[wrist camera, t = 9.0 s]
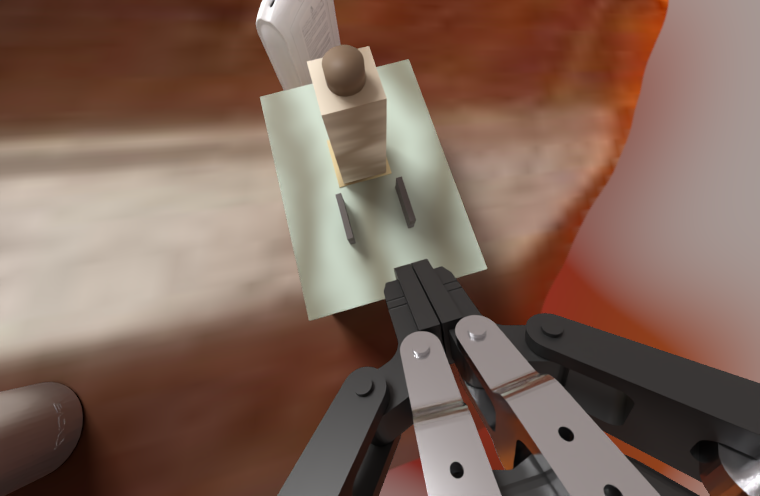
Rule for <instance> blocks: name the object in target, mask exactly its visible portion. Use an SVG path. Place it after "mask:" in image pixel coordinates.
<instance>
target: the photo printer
mask: <svg viewBox="0 0 760 496" xmlns="http://www.w3.org/2000/svg"><path fill="white" fill-rule="evenodd" d="M256 28H257V31H258V34H259V36H260V38H261V41H262V43H263V45H264V47H265V50H266V52H267V54H268V56H269V59H270V61H271V63H272V65H273V67H274V70H275V72H276V74H277V76H278V79H279V81H280V83H281V85H282V87H283V89H284V91H285V90H289V89H293V88H297V87H301V86H305V85H309V84H313V83H312V79H311V76H310V72H309V68H308V65H307V61H311V60H315V59H319V58H323V56H324V55H325V53H326V52H327V51H328V50H330V49H331V48H333V47H335V46H339V45H341V44H340V38H339V32H338V26H337V20H336V14H335V8H334V2H333V0H262V3H261V5H260V8H259V12H258V15H257V20H256Z"/></svg>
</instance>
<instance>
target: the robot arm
mask: <svg viewBox="0 0 760 496" xmlns="http://www.w3.org/2000/svg"><path fill="white" fill-rule="evenodd" d="M394 272H395V277H396V280H394V281H390V282H387V283H386V284H385V288H384V296H385V299H386V303H387V306H388V310H389V313H390V317H391V320H392V323H393V327H394V330H395V333H396V337H397V340H398V349H397V352H396V354H395V355H394V357H393V358H392V359H391V360H390V361H389V362H388V363H386V364H385V365H383V366H382V367H380V368H379V369H376V368H373V367H362V368H359V369H357V370H355V371H353V372H352V373H351V374H350V375H349V376H348V377H347V379H346V380H345V382H344V383H343V385H342V387H341V389H340V390H339V392H338V394H337V395H336V397H335V399H334V400H333V402H332V404H331V406H330V407H329V409H328V411H327V412H326V414H325V416H324V417H323V419H322V421H321V422H320V424H319V426H318V428H317V429H316V431H315V433H314V434H313V436H312V438H311V439H310V441H309V443H308V445H307V446H306V448H305V450H304V451H303V453H302V455H301V456H300V458H299V460H298V462H297V463H296V465H295V467H294V468H293V470H292V472H291V473H290V475H289V477H288V478H287V480H286V482H285V484H284V485H283V487H282V489H281V490H280V492H279V494H278V495H277V496H379V494H380V491H381V488H382V486H383V483H384V480H385V478H386V475H387V472H388V470H389V467H390V464H391V462H392V459H393V456H394V454H395V451H396V448H397V446H398V443H399V440H400V438H401V434H402V433H403V432H404V431H405V430H406V429H408V428H409V427H410V426H411V425H413V424H414V428H415V433H416V438H417V443H418V448H419V453H420V457H421V462H422V467H423V472H424V477H425V482H426V487H427V492H428V496H699V495H697V494H696V493H694V492H692V491H690V490H688V489H687V488H685V487H683V486H682V485H680V484H678V483H676V482H675V481H673V480H671V479H669V478H667V477H666V476H664V475H662V474H660V473H659V472H657V471H655V470H654V469H652V468H650V467H648V466H646V465H644V464H643V463H641V462H639V461H637V460H636V459H633V458H631V457H629V456H627V455H624V454H623V453H622V452H621V451H620V450H619V449H618V448H617V447H616V446H615V444H614V443H613V442H612V441H611V440H610V439H609V438H608V436H606V434H605V433H604V432H603V431H605V432H606V433H608V434H610V435H612V436H614V437H616V438H618V439H620V440H622V441H624V442H625V443H627V444H630V445H631V446H633V447H635V448H637V449H639V450H641V451H643V452H645V453H647V454H648V455H651V456H652V457H654V458H656V459H658V460H660V461H662V462H664V463H666V464H668V465H670V466H671V467H673V468H675V469H677V470H679V471H681V472H683V473H685V474H687V475H689V476H691V477H693V478H695V479H696V480H698V481H700V482H702V483H703V484H704V486H705V488H706V490H707V491H708V493H709V494H710V496H760V383H757V382H754V381H751V380H748V379H745V378H742V377H739V376H736V375H733V374H730V373H727V372H724V371H721V370H718V369H715V368H712V367H709V366H706V365H703V364H700V363H697V362H694V361H691V360H689V359H686V358H683V357H680V356H677V355H673V354H671V353H668V352H665V351H661V350H659V349H656V348H653V347H650V346H647V345H644V344H641V343H638V342H635V341H632V340H629V339H626V338H623V337H620V336H617V335H614V334H611V333H608V332H605V331H602V330H599V329H596V328H593V327H590V326H587V325H584V324H581V323H578V322H575V321H572V320H569V319H566V318H563V317H560V316H557V315H554V314H547V313H543V314H537V315H534V316H532V317H531V318H530V319H529V320H528V321H527V324H526V325H499V324H495V323H494V322H493V321H492V320H490V319H488V318H486V317H484V316H482V315H481V314H480V312H479V311H478V309H477V308H476V307H475V305H474V304H473V302H472V301H471V299H470V298H469V297H468V295H467V294H466V292H465V291H464V289H463V288H462V286H461V285H460V284H459V282H457V279H456V278H455V276H454V275H453V274H452V272H451V271H449V270H447V269H446V268H444V267H442V266H441V267H437V268H434V269H433V267H432V266H431V264H430V262H429V261H428V259H423V260H420V261H416V262H413V263H411V265H410V264H407V265H403V266H400V267H396V268H394ZM452 363H455V365H456V367H457V369H458V371H459V375H460V381H461V384H462V386H463V387H464V389H465V391H466V393H467V395H468V396H469V398H470V400H471V402H472V403H473V405H474V407H475V409H476V411H477V412H478V414H479V416H480V418H481V420H482V421H483V423H484V425H485V427H486V428H487V430H488V432H489V434H490V436H491V438H492V440H493V443H494V446H495V449H496V452H497V454H498V457H499V459H500V461H501V463H502V465H503V467H504V469H505V470H492V469H491V466H490V464H489V461H488V458H487V456H486V453H485V451H484V448H483V445H482V442H481V440H480V437H479V434H478V432H477V429H476V427H475V424H474V421H473V419H472V416H471V414H470V411H469V409H468V407H467V405H466V404H465V403H464V402H463V400H462V398H461V395H460V393H459V390H458V387H457V384H456V382H455V379H454V376H453V374H452V371H451V368H450V365H449V364H452ZM82 424H83V413H82V407H81V404H80V401H79V399H78V397H77V396H76V395H75V393H74V392H73V391H72V390H71V389H70V388H68V387H67V386H65V385H62V384H60V383H54V382H46V383H39V384H35V385H30V386H25V387H21V388H16V389H11V390H7V391H2V392H0V496H5V495H7V494H9V493H11V492H13V491H15V490H17V489H19V488H22V487H24V486H26V485H28V484H30V483H32V482H34V481H36V480H38V479H40V478H42V477H44V476H46V475H48V474H49V473H51V472H53V471H54V470H56V469H57V468H58V467H59V466H61V465H62V464H63V463H64V462H65V461H66V459H67V458H68V457H69V456H70V454H71V453H72V451H73V450H74V448H75V447H76V444H77V442H78V440H79V437H80V434H81V430H82Z"/></svg>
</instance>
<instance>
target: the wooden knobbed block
mask: <svg viewBox="0 0 760 496" xmlns="http://www.w3.org/2000/svg"><path fill="white" fill-rule="evenodd" d="M307 65H308V68H309V72H310V76H311V79H312V83H313V86H314V90H315V94H316V97H317V101H318V105H319V108H320V112H321V116H322V119H323V122H324V125H325V128H326V131H327V134H328V137H329V140H330V143H331V146H332V149H333V152H334V155H335V158H336V161H337V164H338V167H339V170H340V173H341V176H342V179H343V182H344V184H345V183H349V182H353V181H356V180H360V179H364V178H367V177H371V176H375V175H378V174H382V173H386V131H387V98H386V95H385V92H384V89H383V86H382V83H381V80H380V77H379V74H378V71H377V69H376V66H375V63H374V60H373V57H372V54H371V51H370V48H369V46H367V47H363V48H359V49H356V48H355V47H352V46H349V45H339V46H335V47H333V48H331V49H330V50H328V51H327V52H326V53H325V55H324V56H323V58H319V59H315V60H311V61H307Z"/></svg>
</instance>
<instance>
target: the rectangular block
mask: <svg viewBox="0 0 760 496" xmlns="http://www.w3.org/2000/svg"><path fill="white" fill-rule="evenodd" d="M376 69H377V71H378V74H379V77H380V80H381V83H382V86H383V89H384V92H385V95H386V98H387V131H386V173H382V174H378V175H375V176H371V177H367V178H364V179H360V180H356V181H353V182H349V183H345V184H344V182H343V179H342V176H341V173H340V170H339V167H338V164H337V161H336V158H335V155H334V152H333V149H332V146H331V143H330V140H329V137H328V134H327V131H326V128H325V125H324V122H323V119H322V116H321V112H320V108H319V105H318V101H317V97H316V94H315V90H314V86H313V84H309V85H305V86H301V87H297V88H293V89H289V90H285V91H281V92H277V93H273V94H269V95H266V96H262V97H260V99H261V104H262V109H263V113H264V118H265V122H266V127H267V131H268V136H269V140H270V145H271V149H272V154H273V159H274V163H275V168H276V172H277V177H278V181H279V186H280V190H281V195H282V200H283V204H284V209H285V213H286V218H287V222H288V227H289V231H290V236H291V240H292V245H293V250H294V254H295V259H296V263H297V268H298V272H299V277H300V281H301V286H302V291H303V295H304V300H305V304H306V309H307V313H308V318H309V321H311V320H315V319H318V318H322V317H325V316H329V315H332V314H335V313H339V312H342V311H346V310H349V309H353V308H356V307H359V306H363V305H366V304H370V303H373V302H377V301H380V300H384V299H385V296H384V288H385V284H386V283H387V282H390V281H394V280H396V277H395V272H394V268H396V267H400V266H403V265H407V264H410V265H411V263H413V262H416V261H420V260H423V259H428V261H429V262H430V264H431V266H432V267H433V269H434V268H437V267H441V266H442V267H444V268H446V269H447V270H449V271H451V272H452V274H453V275H454V276H455V278H459V277H463V276H466V275H469V274H473V273H476V272H480V271H483V270H486V269H487V266H486V264H485V261H484V258H483V256H482V253H481V250H480V248H479V245H478V242H477V240H476V237H475V235H474V232H473V229H472V227H471V224H470V221H469V219H468V216H467V213H466V211H465V208H464V205H463V203H462V200H461V197H460V195H459V192H458V189H457V187H456V184H455V181H454V179H453V176H452V173H451V171H450V168H449V165H448V163H447V160H446V157H445V155H444V152H443V149H442V147H441V144H440V141H439V139H438V136H437V133H436V131H435V128H434V125H433V123H432V120H431V117H430V115H429V112H428V110H427V107H426V104H425V102H424V99H423V96H422V94H421V91H420V88H419V86H418V83H417V80H416V78H415V75H414V72H413V70H412V67H411V64H410V62H409V59H408V60H404V61H400V62H396V63H392V64H388V65H384V66H380V67H376Z"/></svg>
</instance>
